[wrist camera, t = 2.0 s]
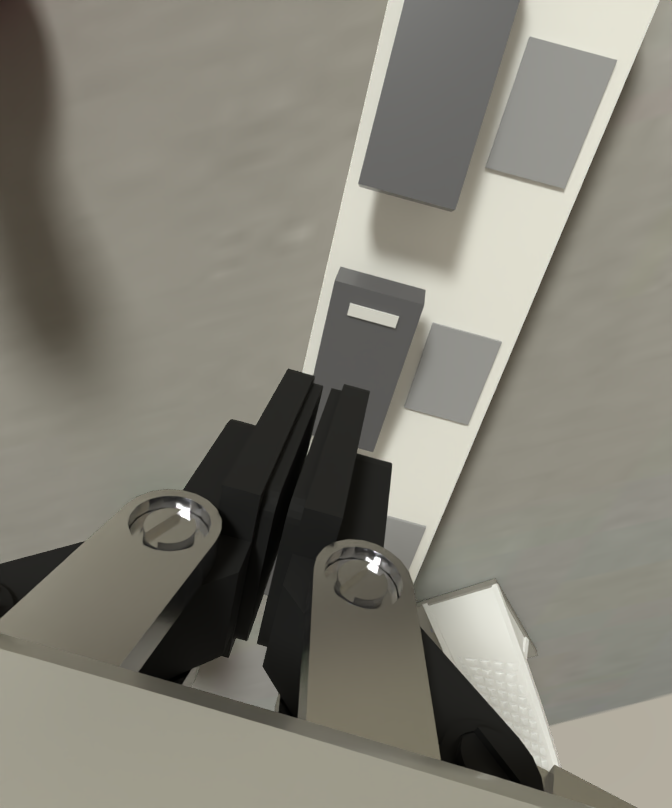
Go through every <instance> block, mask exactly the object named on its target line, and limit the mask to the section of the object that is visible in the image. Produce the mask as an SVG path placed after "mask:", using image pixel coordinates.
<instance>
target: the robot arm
mask: <svg viewBox="0 0 672 808" xmlns="http://www.w3.org/2000/svg"><path fill="white" fill-rule="evenodd" d="M314 380H315V376H313V375H310V374H306V373H302V372H298V371H295V370H291V369H288V370H287V371H286V373H285V375H284V377H283V379H282V380H281V382H280V384H279V386H278V387H277V389H276V391H275V393H274V394H273V396H272V398H271V400H270V401H269V403H268V405H267V407H266V409H265V410H264V412H263V414H262V416H261V417H260V419H259V421H258V423H257V424H256V426H255V425H252V424H248V423H244V422H241V421H237V420H233V419H232V420H230V421H229V422H228V423H227V425H226V426H225V428H224V429H223V431H222V432H221V434H220V435H219V437H218V438H217V440H216V441H215V443H214V444H213V446H212V447H211V449H210V450H209V452H208V453H207V455H206V456H205V458H204V459H203V461H202V462H201V464H200V465H199V467H198V468H197V470H196V471H195V473H194V474H193V476H192V477H191V479H190V480H189V482H188V483H187V485H186V486H185V488H184V489H183V490H173V489H164V490H156V491H151V492H148V493H145V494H142V495H139V496H137V497H136V498H134V499H133V500H131V501H130V502H128V503H127V504H125V505H124V506H123V507H122V508H121V509H120V510H119V511H118V512H117V513H116V514H115V515H113V516H112V517H111V518H110V519H109V520H108V521H107V522H106V523H105V524H104V525H102V526H101V527H100V528H99V529H98V530H97V531H96V532H95V533H94V534H93V535H92V536H90V537H89V538H88V539H87V540H86V541H84V542H80V543H77V544H73V545H69V546H65V547H62V548H58V549H54V550H51V551H47V552H43V553H39V554H36V555H32V556H28V557H24V558H21V559H17V560H13V561H9V562H6V563H2V564H0V808H637V807H635V806H633V805H631V804H629V803H627V802H625V801H623V800H621V799H619V798H618V797H616V796H614V795H612V794H610V793H608V792H606V791H604V790H602V789H600V788H598V787H597V786H595V785H593V784H591V783H589V782H587V781H585V780H583V779H581V778H579V777H577V776H575V775H573V774H572V773H570V772H568V771H566V770H564V769H562V768H560V767H558V766H556V765H554V766H553V767H552V768H551V770H550V771H547V770H545V769H543V768H541V767H539V766H537V765H536V763H535V761H534V758H533V756H532V755H531V754H530V752H529V751H528V749H527V748H526V747H525V745H524V744H523V743H522V741H521V740H520V739H519V737H518V736H517V735H516V734H515V733H514V732H513V731H512V729H511V728H510V727H509V726H508V725H507V724H506V723H505V722H504V720H503V719H502V718H501V717H500V716H499V715H498V714H497V713H496V711H495V710H494V709H493V708H492V707H491V706H490V705H489V704H488V702H487V701H486V700H485V699H484V698H483V697H482V696H481V694H480V693H479V692H478V691H477V690H476V689H475V688H474V687H473V685H472V684H471V683H470V682H469V681H468V680H467V679H466V678H465V676H464V675H463V674H462V673H461V672H460V671H459V670H458V669H457V667H456V666H455V665H454V664H453V663H452V662H451V661H450V659H449V658H448V657H447V656H446V655H445V654H444V653H443V652H442V650H441V649H440V648H439V647H438V646H437V645H436V644H435V643H434V641H433V640H432V639H431V638H430V637H429V636H428V635H427V634H426V632H425V631H424V630H423V629H422V628H421V627H420V623H419V617H418V610H417V604H416V598H415V591H414V585H413V582H412V579H411V576H410V573H409V571H408V570H407V568H406V567H405V565H404V564H403V563H402V561H401V560H400V559H398V558H397V557H396V556H395V555H394V554H393V553H391V552H390V551H389V550H387V549H385V548H384V541H385V532H386V522H387V512H388V503H389V493H390V484H391V474H392V463H390V462H387V461H383V460H379V459H376V458H372V457H368V456H365V455H361V454H358V453H357V450H358V445H359V441H360V436H361V431H362V427H363V422H364V417H365V413H366V408H367V403H368V399H369V394H370V391H369V390H365V389H361V388H358V387H354V386H350V385H346V384H344V385H343V388H342V391H341V390H337V389H334V388H331V391H330V393H329V396H328V399H327V402H326V404H325V407H324V410H323V413H322V415H321V418H320V421H319V424H318V427H317V429H316V432H315V435H314V438H313V440H312V443H311V446H310V449H309V445H310V441H311V437H312V432H313V428H314V424H315V420H316V416H317V412H318V407H319V403H320V399H321V395H322V391H323V385H319V384H315V383H314ZM308 449H309V451H308ZM307 453H308V454H307ZM277 554H278V555H277ZM276 557H277V559H276ZM275 560H276V563H275ZM274 563H275V568H274V572H273V576H272V581H271V585H270V589H269V593H268V598H267V602H266V606H265V611H264V615H263V619H262V623H261V628H260V632H259V636H258V641H257V644H259V645H263V646H266V647H267V651H266V655H265V659H264V663H263V668H264V670H265V671H266V673H267V674H268V676H269V678H270V679H271V681H272V683H273V684H274V686H275V688H276V689H277V691H278V697H277V700H276V704H275V711H270V710H267V709H264V708H260V707H257V706H253V705H250V704H246V703H243V702H239V701H236V700H232V699H229V698H225V697H222V696H219V695H215V694H212V693H208V692H205V691H201V690H198V689H194V688H191V687H192V685H193V683H194V681H195V679H196V676H197V674H198V671H199V666H200V665H202V664H204V663H206V662H209V661H211V660H213V659H215V658H218V657H220V656H224V657H227V658H229V655H230V652H231V649H232V647H233V644H234V641H235V639H236V638H238V639H242V640H245V641H247V640H248V638H249V635H250V632H251V629H252V626H253V623H254V621H255V618H256V615H257V612H258V609H259V606H260V603H261V600H262V598H263V595H264V592H265V589H266V586H267V583H268V580H269V577H270V575H271V572H272V569H273V566H274Z"/></svg>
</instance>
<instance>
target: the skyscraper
mask: <svg viewBox="0 0 672 808" xmlns="http://www.w3.org/2000/svg"><path fill="white" fill-rule="evenodd" d="M416 604H417V610H418V617H419V623H420V627H421V628H422V629H423V630H424V631H425V632H426V634H427V635H428V636H429V637H430V638H431V639H432V640H433V641H434V643H435V644H436V645H437V646H438V647H439V648H440V649H441V650H442V652H443V653H444V654H445V655H446V656H447V657H448V658H449V659H450V661H451V662H452V663H453V664H454V665H455V666H456V667H457V669H458V670H459V671H460V672H461V673H462V674H463V675H464V676H465V678H466V679H467V680H468V681H469V682H470V683H471V684H472V685H473V687H474V688H475V689H476V690H477V691H478V692H479V693H480V694H481V696H482V697H483V698H484V699H485V700H486V701H487V702H488V704H489V705H490V706H491V707H492V708H493V709H494V710H495V711H496V713H497V714H498V715H499V716H500V717H501V718H502V719H503V720H504V722H505V723H506V724H507V725H508V726H509V727H510V728H511V729H512V731H513V732H514V733H515V734H516V735H517V736H518V737H519V739H520V740H521V741H522V743H523V744H524V745H525V747H526V748H527V749H528V751H529V752H530V754H531V755H532V756H533V758H534V761H535V763H536V765H537V766H539V767H541V768H543V769H545V770H547V771H550V770H551V768H552V767H553V766H554V765H556V766H558V767H560V768H561V764H560V761H559V758H558V754H557V750H556V747H555V744H554V740H553V737H552V734H551V731H550V728H549V725H548V722H547V719H546V715H545V712H544V709H543V706H542V703H541V700H540V697H539V694H538V691H537V688H536V685H535V683H534V680H533V677H532V674H531V671H530V668H529V665H528V662H527V658H530V657H534V656H538V654H537V650H536V648H535V646H534V645H533V643H532V641H531V639H530V638H529V636H528V634H527V632H526V631H525V629H524V627H523V625H522V624H521V622H520V620H519V618H518V617H517V615H516V613H515V611H514V610H513V608H512V606H511V604H510V603H509V601H508V599H507V598H506V596H505V594H504V592H503V591H502V589H501V587H500V585H499V584H498V582H497V580H496V578H495V579H492V580H489V581H485V582H482V583H479V584H476V585H473V586H469V587H466V588H463V589H460V590H456V591H453V592H450V593H447V594H444V595H440V596H437V597H434V598H431V599H428V600H424V601H421V602H418V603H416Z"/></svg>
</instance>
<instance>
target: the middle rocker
mask: <svg viewBox="0 0 672 808" xmlns="http://www.w3.org/2000/svg"><path fill="white" fill-rule="evenodd" d="M425 292H426V290H425V289H421V288H417V287H414V286H410V285H406V284H403V283H399V282H395V281H392V280H388V279H384V278H381V277H377V276H373V275H370V274H366V273H362V272H359V271H355V270H352V269H348V268H344V267H341V266H340V269H339V271H338V274H337V276H336V278H335V281H334V286H333V290H332V294H331V299H330V303H329V308H328V312H327V316H326V321H325V325H324V330H323V334H322V338H321V343H320V347H319V352H318V356H317V360H316V365H315V369H314V374H313V376H315V380H314V383H315V384H319V385H323V391H322V395H321V399H320V403H319V407H318V412H317V416H316V420H315V424H314V428H313V432H312V436H314V435H315V432H316V429H317V427H318V424H319V421H320V418H321V415H322V413H323V410H324V407H325V404H326V402H327V399H328V396H329V393H330V391H331V388H334V389H337V390H341V391H342V388H343V385H344V384H346V385H350V386H354V387H358V388H361V389H365V390H369V391H370V394H369V399H368V403H367V408H366V413H365V417H364V422H363V427H362V431H361V436H360V441H359V445H358V448H359V449H363V450H366V451H370V452H373V451H374V449H375V446H376V443H377V440H378V437H379V434H380V431H381V428H382V425H383V423H384V420H385V417H386V414H387V411H388V408H389V405H390V402H391V400H392V397H393V394H394V391H395V388H396V385H397V382H398V379H399V377H400V374H401V371H402V368H403V365H404V362H405V359H406V356H407V353H408V351H409V348H410V345H411V342H412V339H413V336H414V333H415V330H416V328H417V325H418V322H419V319H420V316H421V313H422V310H423V307H424V303H425Z"/></svg>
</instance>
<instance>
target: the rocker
mask: <svg viewBox="0 0 672 808" xmlns="http://www.w3.org/2000/svg"><path fill="white" fill-rule="evenodd" d="M519 2H520V0H404V4H403V8H402V12H401V16H400V20H399V24H398V28H397V32H396V36H395V40H394V44H393V47H392V51H391V55H390V59H389V63H388V67H387V71H386V75H385V79H384V83H383V87H382V91H381V95H380V99H379V103H378V107H377V111H376V115H375V119H374V122H373V126H372V130H371V134H370V138H369V142H368V146H367V150H366V154H365V158H364V162H363V166H362V170H361V174H360V178H359V182H358V185H359V186H360V187H362V188H365V189H369V190H373V191H376V192H380V193H384V194H387V195H391V196H395V197H398V198H402V199H406V200H409V201H413V202H417V203H420V204H424V205H428V206H431V207H435V208H439V209H442V210H446V211H450V212H452V211H454V210H455V209H456V206H457V203H458V200H459V197H460V193H461V190H462V187H463V184H464V180H465V177H466V174H467V171H468V167H469V164H470V161H471V158H472V154H473V151H474V148H475V145H476V141H477V138H478V135H479V132H480V128H481V125H482V122H483V119H484V115H485V112H486V109H487V106H488V103H489V99H490V96H491V93H492V90H493V86H494V83H495V80H496V77H497V73H498V70H499V67H500V64H501V60H502V57H503V54H504V51H505V47H506V44H507V41H508V38H509V34H510V31H511V28H512V25H513V21H514V18H515V15H516V12H517V9H518V5H519Z"/></svg>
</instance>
